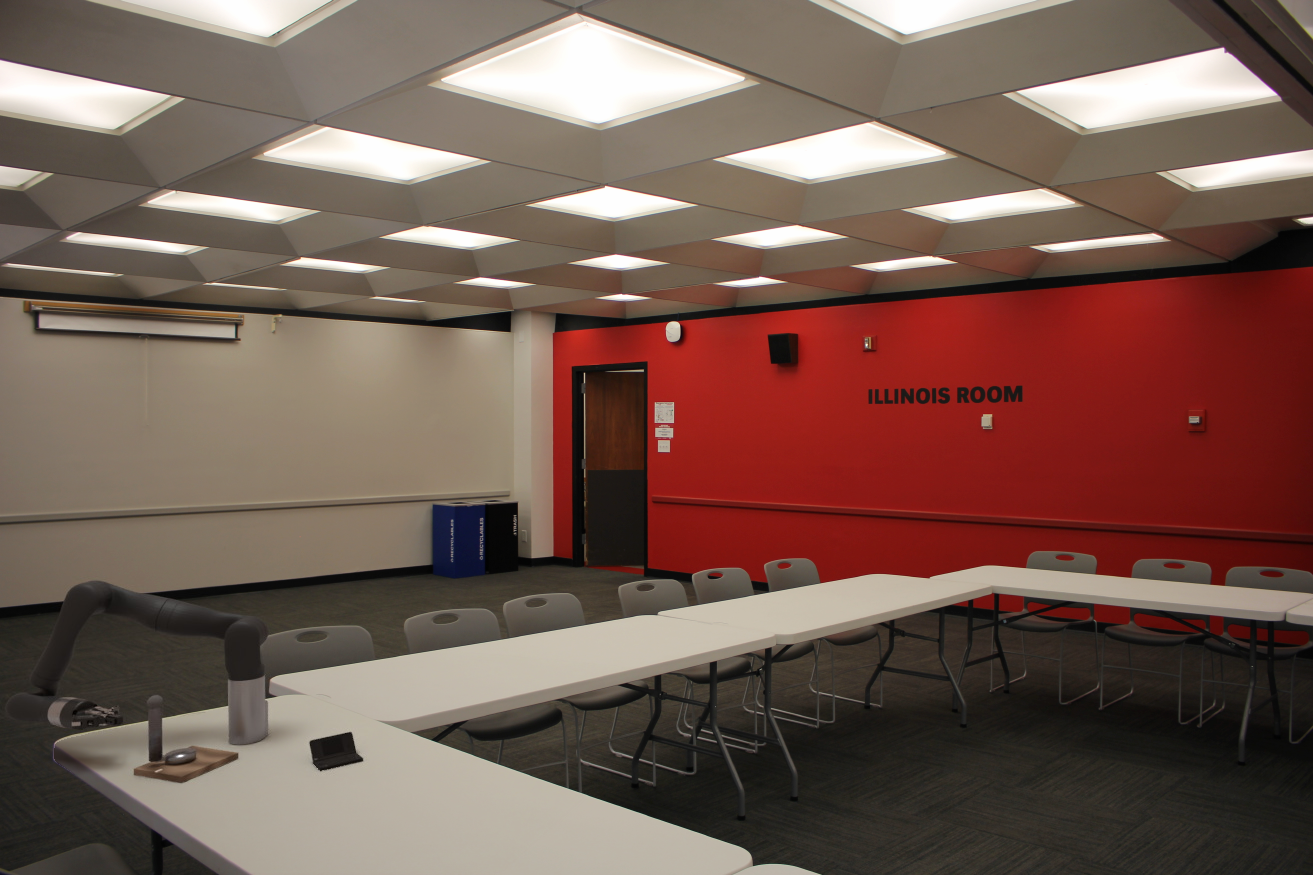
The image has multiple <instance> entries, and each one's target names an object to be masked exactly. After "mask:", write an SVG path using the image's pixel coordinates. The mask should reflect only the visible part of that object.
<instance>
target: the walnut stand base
mask: <svg viewBox="0 0 1313 875" xmlns="http://www.w3.org/2000/svg"><path fill="white" fill-rule="evenodd" d="M187 748H194V749H196V758H195V759H193V760H191V761H188V762H185V763H179V764H167V763H165V761H162V762H157V763H156V762H149V761H148V763H145V764H142V765H138V766H137V767H134V768H133V776H138V777H144V776H145V777H144V778H150V777H151V779H157V780H162V781H167V780H168V782H174V783H180V784H182V783H185V782H188V781H189V780H192V779H194V778H196V776H197V777H199V776H201V775H204V774H206V773H208V772H210V771H213V770H215V769H218V768H219V767H222V766H224V764H225V765H226V764H229V763H231V762H233V761H236V760H238V759H239V752H235V751H229V750H223V749H218V748H217V749H216V748H210V747H203V746H197V745H191V746H188V747H187Z"/></svg>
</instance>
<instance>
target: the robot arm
mask: <svg viewBox="0 0 1313 875" xmlns="http://www.w3.org/2000/svg"><path fill="white" fill-rule="evenodd" d="M99 614H100V615H109V616H110V615H111V616H116V617H122V618H126V619H129V620H131V621H133V622H135V623H136V624H138V625H140V626H142V627H144V628H146V629H148V630H150V631H154V632H157V633H162V634H166V635H170V636H178V637H190V638H191V637H198V638H199V637H203V638H204V637H205V638H207V637H209V638H215V639H220V640H223V642H224V643H223V646H224V648H223V649H224V652H223V653H224V667H225V670H226V672H227V694H228V696H227V699H228V703H227V704H228V715H227V717H228V721H227V722H228V743H229V744H231V745H249V744H252V743H253V744H254V743H257V742H259V741H261V740H264V739H265V738H266V736H269V701H268V700H266V668H265V665H264V664H263V663H262V658H261V646H262V645H263V644H264V643H265V642H266V641H267V639H268V637H269V635H270V634H269V631H270V630H269V627H268V625H267V624H266V622H265V621H264V620H263V619H261V618H260V617H257V616H252V615H246V614H245V615H243V614H237V613H236V614H235V613H230V612H223V611H218V610H216V609H212V608H208V607H205V606H201V605H197V604H194V603H190V602H186V601H182V600H178V599H174V598H169V597H164V596H159V595H154V594H149V593H141V592H136V591H133V590H130V589H126V588H124V587H120V586H118V585H114V584H113V583H110V582H107V581H102V580H90V581H85V582H82V583H78V584H76V585H73V586H72V587H71V588H70V589H69V590H68V592H66V595H65V598H64V600H63V603H62V605H61V608H60V611H59V614H58V618H57V620H56V621H55V625H54V628H53V631H52V632H51V635H50V637H49V640H48V642H47V644H46V646H45V648H44V650H43V652H42V653H41V656H40V657H39V659H38V660H37V662H36V665H35V666H34V668H33V670H32V672H31V674H30V676H29V683H30V684H31V685H32V686H33V687H36V688H38V689H39V690H38V691H37V692H19V693H16V694H14V695H12V696H11V697H10V698H9V699H8V700H7V702H6V703H5V710H4V711H5V713H6V715H7V716H8V717H9V719H11V720H13V721H18V722H34V723H36V722H37V723H44V724H48V725H54V726H57V727H60V728H64V729H69V730H70V729H71V730H76V731H84V730H86V729H89V728H90V729H91V728H98V727H100V726H107V725H108V726H114V727H115V726H116V727H117V726H120V725H123V723H124V716H123V715H120V705H118V704H116V705H114V706H113V707H111V708H109V709H108V708H107V707H102V706H98V704H97V703H96V702H95V701H93V700H91V699H85V698H80V697H79V698H78V697H72V696H71V697H68V696H67V697H64V696H60V695H59V696H58V695H57V694H58V691H59V687H60V682H61V681H62V678H63V677H64V675H65V673H66V672H67V670H68V668H69V666H70V664H71V662H72V659H73V657H74V652H75V646H76V642H77V639H78V636H80V632H81V631H82V629H83V627H84V626H85V624H86V623H87V622H88V621H89V619H90V618H91V617H92V616H95V615H99Z"/></svg>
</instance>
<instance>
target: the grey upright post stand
mask: <svg viewBox="0 0 1313 875" xmlns="http://www.w3.org/2000/svg"><path fill="white" fill-rule="evenodd" d="M163 705H164V698H163V697H162V696H160V694H154V695H152V696H150V697H148V699H147V701H146V706H147V714H148V715H147V716H148V717H147V718H148V723H147V724H148V725H147V726H148V729H147V730H148V735H147V736H148V763H149V762H156V763H157V762H162V761H165V763H167V764H179V763H185V762H188V761H191V760H193V759H195V758H196V749H194V748H188V747H183V748H177V749H173V750H170V751H168V752H166V753H165V754H164V753H163V751H164V750H163Z"/></svg>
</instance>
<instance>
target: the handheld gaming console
mask: <svg viewBox="0 0 1313 875" xmlns="http://www.w3.org/2000/svg"><path fill="white" fill-rule="evenodd" d="M308 745H309V749H310V753H311V758H312V765H313V764H314V765H315V766H316V767H315V766H314V765H313V766H314V767H315V768H316V769H317V768H318V769H317V770H318V771H319V770H320V771H319V772H323V771H322V770H324V771H327V769H328V770H331V768H332V769H336V767H337V768H340V766H341V767H345V766H349V765H353V764H357V763H361V762H364V757H362V756H361V755H360V754H358V753H357V748H356V744H355V739H354V735H353V732H352V731H349V732H343V733H339V734H332V735H330V736H325V737H320V738H316V739H311V740H309V742H308ZM344 765H345V766H344Z"/></svg>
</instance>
